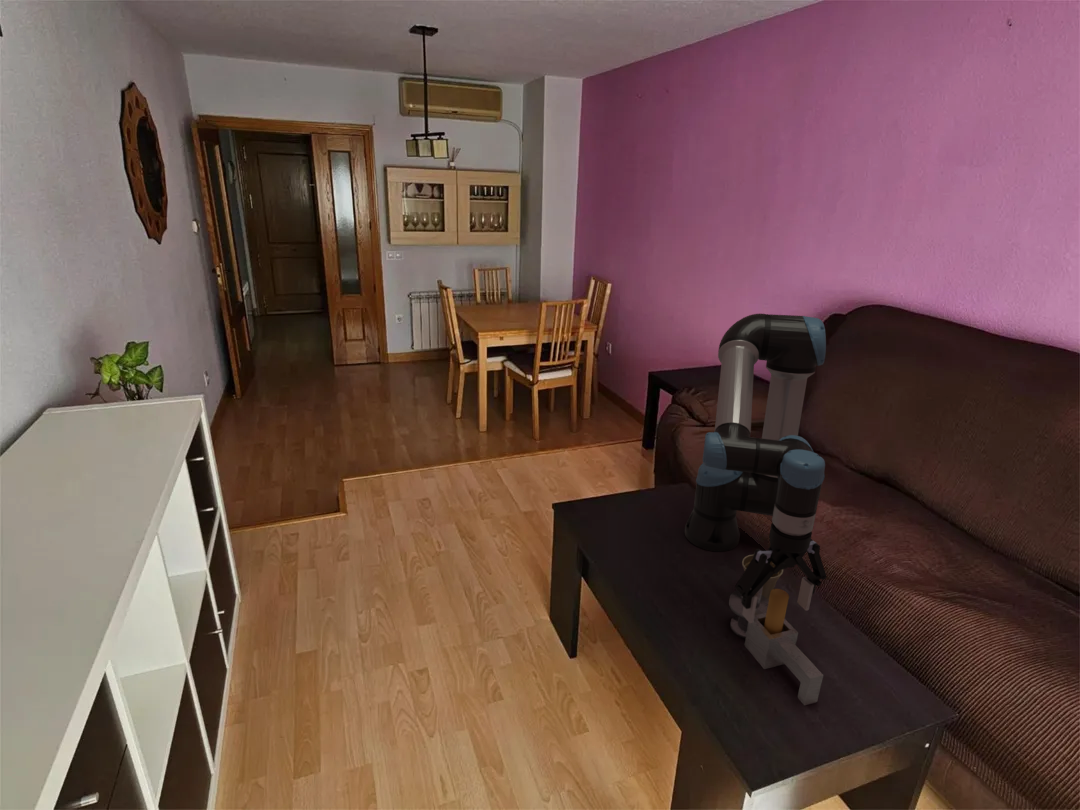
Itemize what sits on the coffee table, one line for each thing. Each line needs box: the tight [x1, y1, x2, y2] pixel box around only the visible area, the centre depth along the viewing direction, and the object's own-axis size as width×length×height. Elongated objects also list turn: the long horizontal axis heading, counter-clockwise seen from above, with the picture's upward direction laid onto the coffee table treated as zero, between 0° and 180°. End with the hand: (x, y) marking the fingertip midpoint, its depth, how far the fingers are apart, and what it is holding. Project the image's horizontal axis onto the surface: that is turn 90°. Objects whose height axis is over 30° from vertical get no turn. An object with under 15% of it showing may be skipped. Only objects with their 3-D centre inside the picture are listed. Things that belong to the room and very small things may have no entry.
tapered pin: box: [764, 588, 790, 635], centre depth 124 cm, size 4×4×14 cm
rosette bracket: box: [728, 586, 824, 706], centre depth 124 cm, size 26×9×14 cm, turn 16°
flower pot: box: [741, 553, 784, 600], centre depth 144 cm, size 9×9×9 cm
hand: (775, 612), depth 123 cm, fingers open, 13 cm apart
